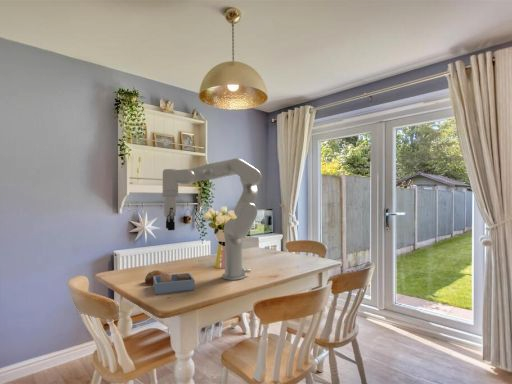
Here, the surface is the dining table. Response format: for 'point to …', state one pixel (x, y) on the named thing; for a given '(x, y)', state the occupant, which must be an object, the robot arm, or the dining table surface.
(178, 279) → the walnut cube
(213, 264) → the dining table surface
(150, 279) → the bread roll
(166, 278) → the terracotta cylinder
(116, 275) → the dining table surface
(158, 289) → the tote
